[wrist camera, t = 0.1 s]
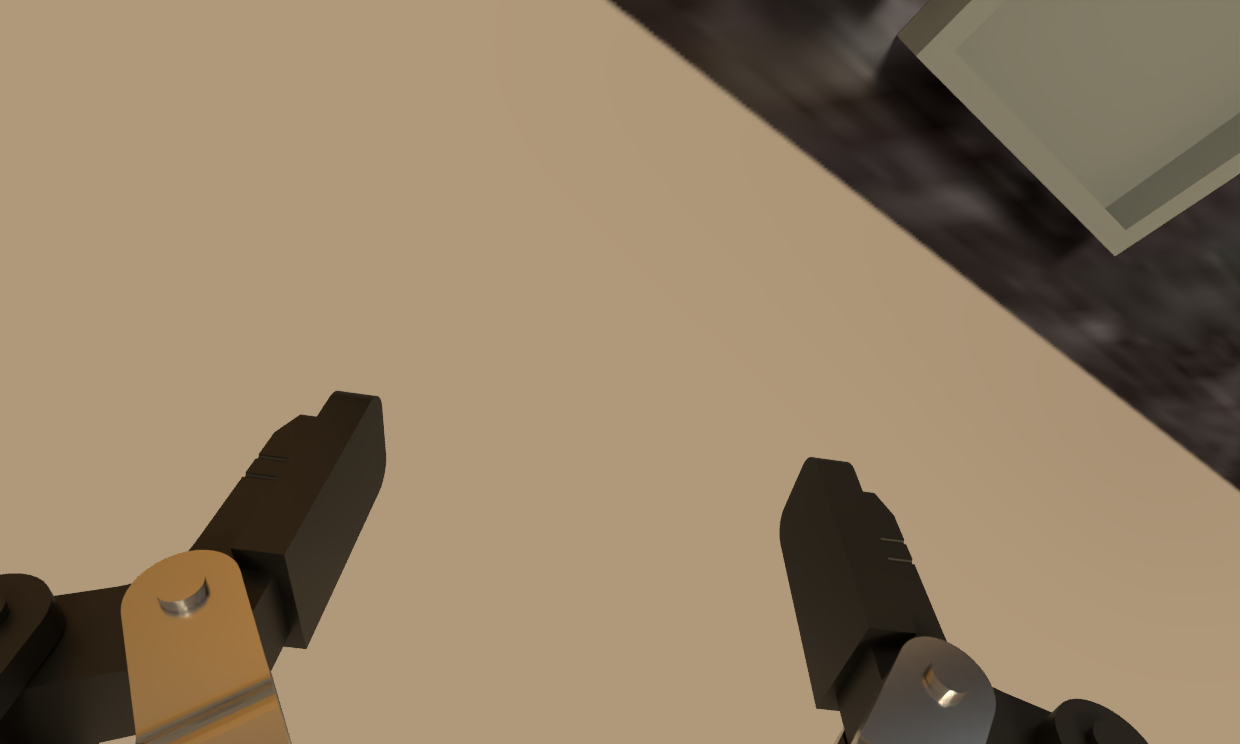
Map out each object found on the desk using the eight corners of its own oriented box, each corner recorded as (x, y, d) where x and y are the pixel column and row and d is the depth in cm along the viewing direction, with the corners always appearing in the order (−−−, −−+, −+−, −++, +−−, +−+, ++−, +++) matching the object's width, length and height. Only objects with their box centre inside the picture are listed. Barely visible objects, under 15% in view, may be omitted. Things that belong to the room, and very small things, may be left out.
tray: (1324, -415, 19) (1407, -439, 17) (1482, -54, 24) (1558, -38, 22) (896, 35, 27) (915, 56, 25) (1086, 226, 33) (1114, 256, 31)
